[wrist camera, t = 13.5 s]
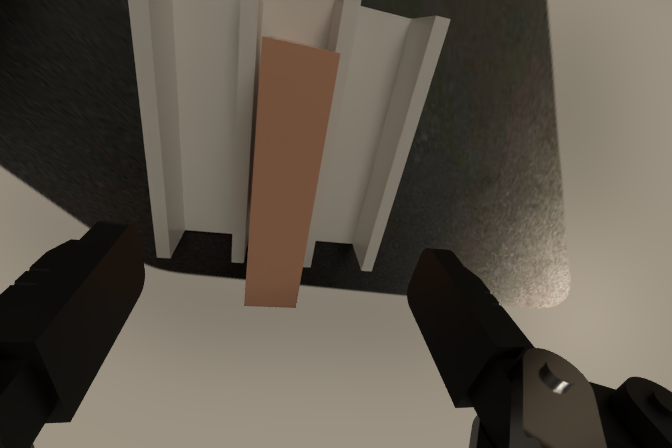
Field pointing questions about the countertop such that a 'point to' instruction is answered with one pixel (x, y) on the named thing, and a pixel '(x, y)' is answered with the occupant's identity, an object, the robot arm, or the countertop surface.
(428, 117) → the countertop surface
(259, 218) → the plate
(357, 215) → the dish rack
